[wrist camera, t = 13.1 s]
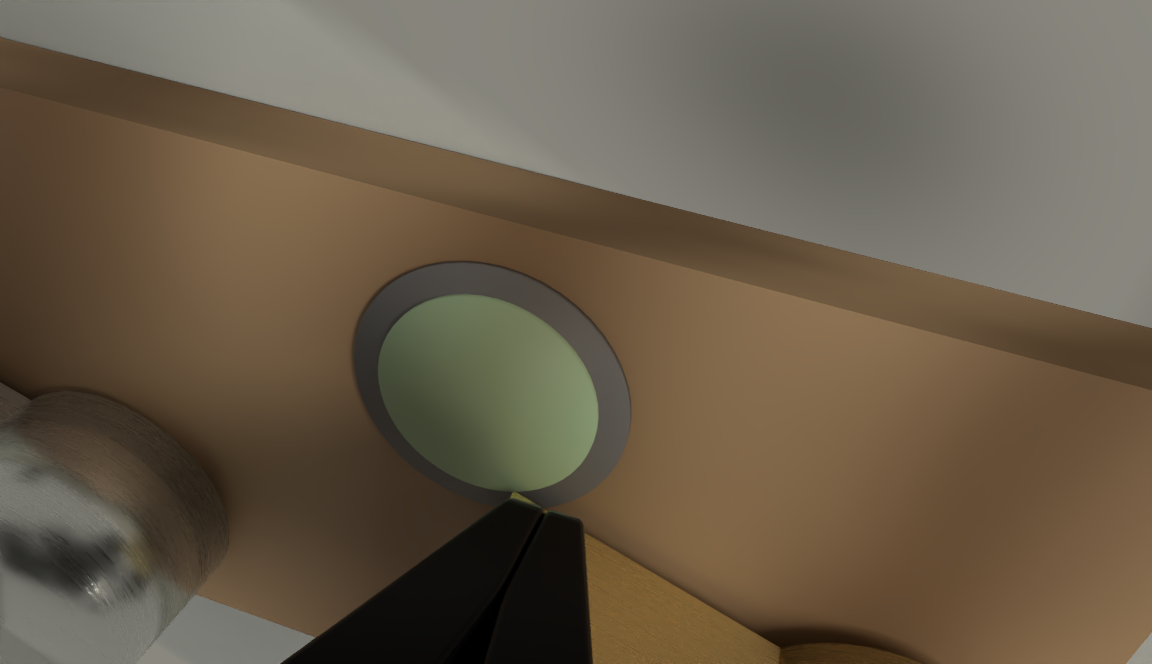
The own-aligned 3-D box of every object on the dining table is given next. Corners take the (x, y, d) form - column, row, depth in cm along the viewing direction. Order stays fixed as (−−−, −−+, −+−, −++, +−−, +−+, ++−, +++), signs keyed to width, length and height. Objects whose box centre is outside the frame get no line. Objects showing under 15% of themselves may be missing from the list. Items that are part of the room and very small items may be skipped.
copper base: (1255, 353, 10) (1323, 445, 8) (950, 778, 14) (960, 881, 13) (-6, 36, 12) (-118, 63, 11) (97, 486, 17) (29, 545, 16)
